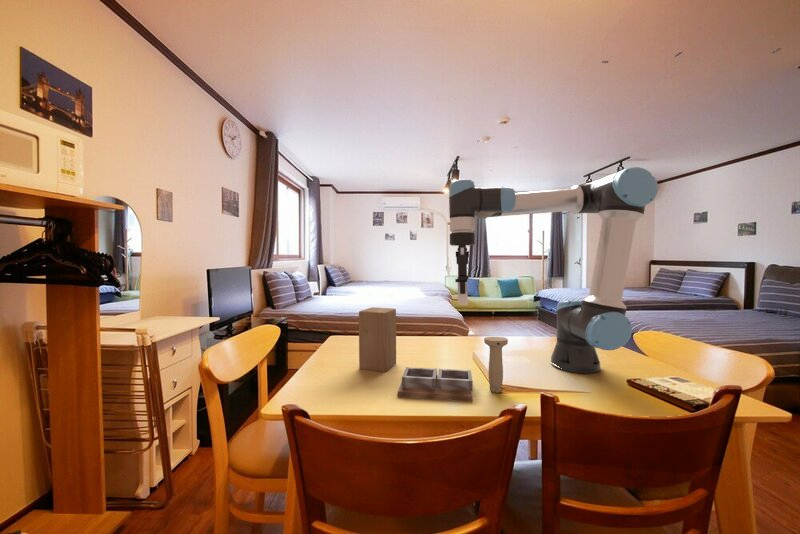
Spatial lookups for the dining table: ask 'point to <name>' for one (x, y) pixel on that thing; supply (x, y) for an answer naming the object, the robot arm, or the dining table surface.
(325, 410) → the dining table surface
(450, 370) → the grey double square tray
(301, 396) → the dining table surface
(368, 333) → the wooden block
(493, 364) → the handle
